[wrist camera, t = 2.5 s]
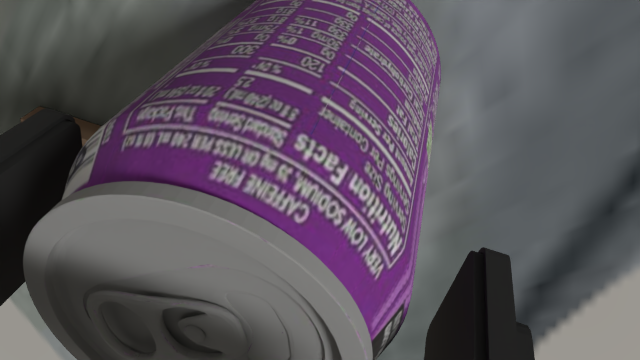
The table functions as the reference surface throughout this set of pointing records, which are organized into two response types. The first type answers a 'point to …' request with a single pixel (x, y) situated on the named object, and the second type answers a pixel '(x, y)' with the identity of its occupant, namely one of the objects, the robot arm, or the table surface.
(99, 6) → the table surface
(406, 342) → the table surface
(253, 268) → the beverage can
